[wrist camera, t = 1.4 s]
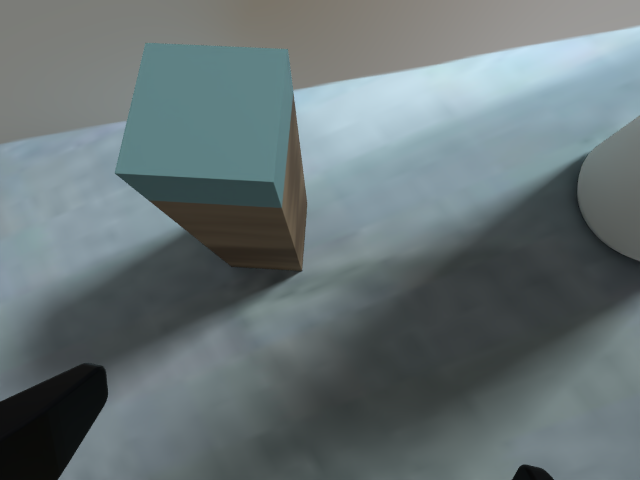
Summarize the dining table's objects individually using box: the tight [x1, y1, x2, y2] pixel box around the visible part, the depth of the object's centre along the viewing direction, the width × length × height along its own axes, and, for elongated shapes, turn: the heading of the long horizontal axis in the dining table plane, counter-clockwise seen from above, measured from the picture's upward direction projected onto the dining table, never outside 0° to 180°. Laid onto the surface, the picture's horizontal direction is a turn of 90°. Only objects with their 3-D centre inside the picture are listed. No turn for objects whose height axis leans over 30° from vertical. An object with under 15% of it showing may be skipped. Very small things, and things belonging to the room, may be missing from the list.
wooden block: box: [115, 43, 307, 271], centre depth 17 cm, size 4×4×13 cm
